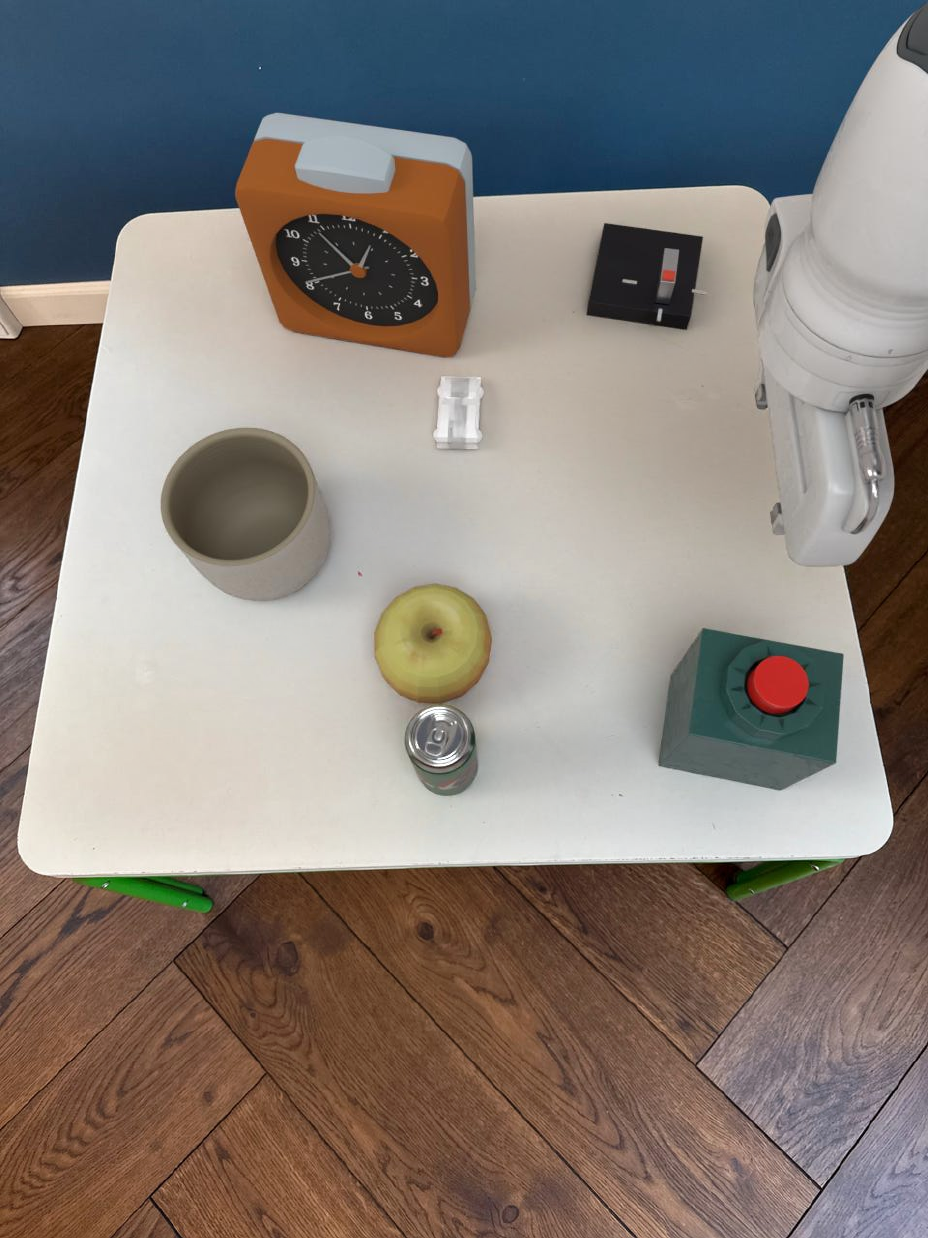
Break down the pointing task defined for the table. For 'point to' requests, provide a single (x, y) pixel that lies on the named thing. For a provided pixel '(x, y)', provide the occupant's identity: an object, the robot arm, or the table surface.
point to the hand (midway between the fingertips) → (774, 461)
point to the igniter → (749, 714)
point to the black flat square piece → (643, 276)
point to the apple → (432, 643)
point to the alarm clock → (362, 231)
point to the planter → (247, 513)
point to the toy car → (458, 413)
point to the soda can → (442, 749)
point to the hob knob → (667, 276)
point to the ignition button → (777, 684)
